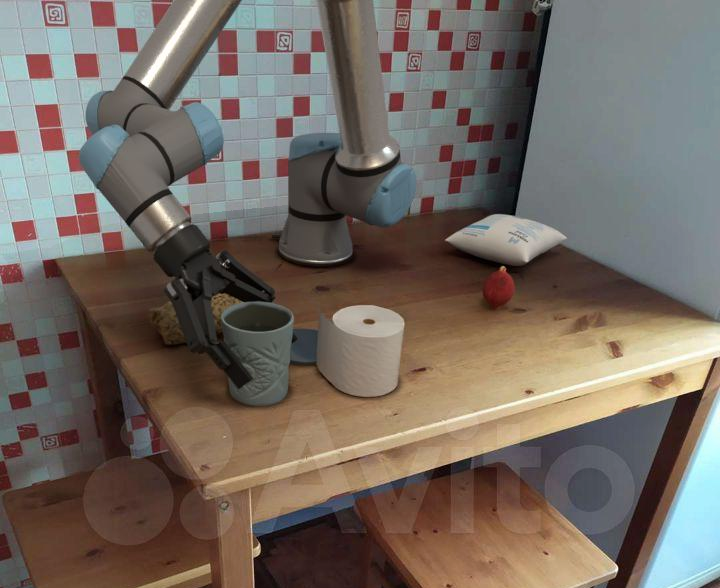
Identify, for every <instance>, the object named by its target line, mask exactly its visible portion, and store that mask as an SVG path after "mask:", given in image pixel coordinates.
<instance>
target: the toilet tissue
mask: <svg viewBox="0 0 720 588" xmlns="http://www.w3.org/2000/svg"><path fill="white" fill-rule="evenodd" d="M317 319H318V321H317V323H318V324H317V330H318V339H317V361H316V364H315V365H316V366H317V369H318V371H319V372H320V373H321V374H322V376H323V377H325V378H326V380H327V381H328V382H329V383H331V384H332V386H334V388H335V389H337V390H339V391H341V392H343V393H345V394H348V395H351V396H355V397H363V398H372V397H379V396H384V395H387V394H389V393H391V392H392V391H394V390H395V389H396V388H397V386H398V383H399V376H400V365H401V359H402V358H401V357H402V348H403V342H404V333H405V323H406V322H405V320H404V318H403V317H402V316H401V315H400V314H399V313H398V312H395V311H394V310H391V309H388V308H386V307H385V308H384V307H381V306H378V305H373V304H365V305H362V304H360V305H359V304H358V305H351V306H346V307H343V308H340V309H339V310H337V311H335V313H333V314H332V321H330V320H329V319H328V318H327V317H326V316H325V315H324V314H323V312H322V311H321V309H318V318H317Z"/></svg>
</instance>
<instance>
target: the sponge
mask: <svg viewBox="0 0 720 588" xmlns="http://www.w3.org/2000/svg"><path fill="white" fill-rule="evenodd" d="M239 303H244V302H242V301H240V300H238V299H236V298H234V297H232V296H230V295H228V294H220V293H218V294H217V295H216V296H213V297H212V299H211V306H212V312H213V318H214V324H215V330H216V335H219V334H221V333H223V329H222V322H221V315H222V313H223V311H225V310H226V309H227V308H228V307H230V306H233V305H235V304H239ZM148 310H149V311H148V312H149V313H148V319H149V321H150V322H151V324H152V326H153V327H154V328H156V329H157V332H158V334H160V335H161V336H162V340H163V342H164V343H165V344H166V345H167V346H169V345H173V346H175V345H180V344H187V342H186V340H185V337H184V334H183V331H182V329H181V326H180V323H179V321H178V318H177V315H176V313H175V310H174V307H173V305H172V302H171V301H170V300H169V301H167V302H166V303H165V304H164V305H162V306H158V307H153V308H150V309H148ZM195 341H197V340H196V339H195Z"/></svg>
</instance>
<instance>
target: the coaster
mask: <svg viewBox="0 0 720 588" xmlns="http://www.w3.org/2000/svg"><path fill="white" fill-rule="evenodd" d="M293 333H294V334H295V336H296V337H297V338H298V339H297V340H296V341H295V342H294V343H292V344H291V348H290V363H289V364H292V365H298V366H314V365H315V366H316V365H317V364H316V361H317V339H318V329H311V328H293Z"/></svg>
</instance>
